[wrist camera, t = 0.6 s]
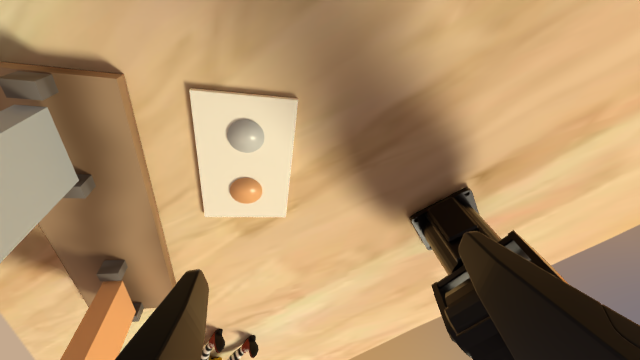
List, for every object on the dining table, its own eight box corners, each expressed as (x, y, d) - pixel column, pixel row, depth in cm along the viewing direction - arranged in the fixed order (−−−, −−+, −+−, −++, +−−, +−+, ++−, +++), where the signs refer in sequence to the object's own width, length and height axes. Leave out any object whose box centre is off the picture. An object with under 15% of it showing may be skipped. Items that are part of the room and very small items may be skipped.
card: (297, 98, 19) (298, 101, 19) (285, 214, 25) (285, 218, 25) (190, 88, 18) (188, 90, 17) (205, 213, 24) (204, 218, 23)
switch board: (123, 74, 17) (104, 86, 15) (179, 297, 30) (173, 319, 28) (-42, 57, 15) (-88, 68, 13) (96, 302, 28) (83, 325, 26)
